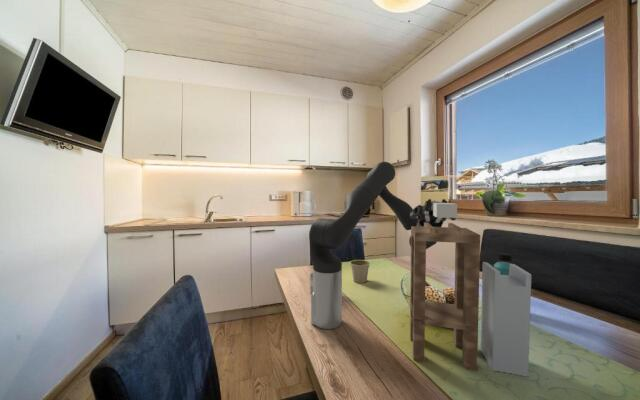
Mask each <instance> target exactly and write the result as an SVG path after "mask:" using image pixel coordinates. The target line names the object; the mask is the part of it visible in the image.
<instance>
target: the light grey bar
mask: <svg viewBox="0 0 640 400" xmlns="http://www.w3.org/2000/svg"><path fill="white" fill-rule="evenodd" d="M430 210H431V211H433V215H434V216H435V217H444V218H456V219H457V218H458V204H457V203H454V202H448V203H442V201H437V200H432V199H431V209H430Z"/></svg>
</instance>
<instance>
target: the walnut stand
mask: <svg viewBox="0 0 640 400" xmlns="http://www.w3.org/2000/svg"><path fill="white" fill-rule="evenodd" d="M447 224H448V225H447V227H446V226H445V227H444V226H442V227H433V226H431V225H430V224H429V223H428V222H424V227H422V226H411V230H410V236H411V246H410V291H409V292H410V294H409V295H410V301H409V302H410V309H409V317H410V318H409V337H410V341H412V358H413V361H415V362H416V361H417V362H422V363H425V348H426V347H425V345H426V344H425V341H426V339H425V337H426V332H425V331H426V326H432V327H439V328H447V329H448V328H449V329H453V344H454V343H455V344H454V346H455V347H456V348H460V349H462V351H461V352H462V359H461V361H462V362H461V363H462V365H463V364H464V365H463V368H464V369H465V368H466V369H465V370H469V369H472V370H471V371H474V370H476V372H477V371H478V357H479V355H478V352H479V351H478V350H479V349H478V348H479V347H478V346H479V345H478V344H479V312H480V310H479V309H480V308H479V305H480V302H479V301H480V272H481V271H480V266H481V265H480V264H481V263H480V261H481V235H480V234H479V233H477V232H475V231H473V230H471V229H469V228H467V227H460V226H459V225H457V224H454V223H453V222H447ZM426 241H433V242H437V243H455V246H454V247H455V250H454V253H455V254H454V255H455V256H454V258H455V259H454V302H453V303H447V302H444V303H443V302H437V301H436V302H434V301H429V300H428V301H427V300H426V278H427V277H426V274H427V273H426V272H427V271H426V269H427V268H426V266H427V264H426V263H427V260H426V259H427V249H426Z"/></svg>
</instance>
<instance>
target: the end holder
mask: <svg viewBox="0 0 640 400" xmlns="http://www.w3.org/2000/svg"><path fill="white" fill-rule="evenodd" d="M481 270H482V273H481V274H482V276H481V279H482V280H481V281H482V282H481V311H480V312H481V319H480V321H481V322H480V351H481V353H482V355H483V357H484V356H485V357H484V359H485V360H486V362H487V363H488V366H489V367H490V369H491V370H492V372H497V371H500V372H499V373H503V372H506V373H505V374H509V373H512V374H511V375H515V374H518V375H517V376H521V375H522V376H521V377H527V378H528V377H529V361H530V360H529V357H530V335H531V334H530V331H531V330H530V328H531V327H530V326H531V303H532V302H531V300H532V299H531V297H532V274H531V273H530V272H528V271H526V270H524V269H523V268H521V267H519V266H518V265H517V264H514V263H511V264H509V275H500V272H499V271H498V270H497V269H495V268H494V265H492V264H490V263H488V262H487V261H486V262H485V261H483V262H482V269H481Z"/></svg>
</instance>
